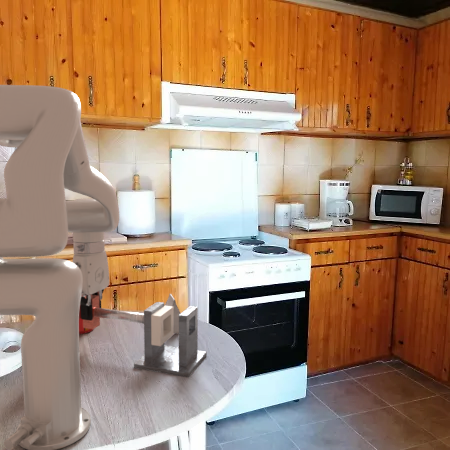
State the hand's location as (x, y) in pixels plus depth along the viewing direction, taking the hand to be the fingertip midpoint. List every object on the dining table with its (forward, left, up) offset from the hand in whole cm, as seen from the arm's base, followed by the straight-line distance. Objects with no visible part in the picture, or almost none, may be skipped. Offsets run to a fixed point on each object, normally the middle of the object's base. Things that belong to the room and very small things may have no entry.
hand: (91, 316), depth 111 cm
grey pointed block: (+19, -14, -9) cm, 25 cm away
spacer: (0, -20, 0) cm, 20 cm away
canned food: (+10, +11, -9) cm, 17 cm away
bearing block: (0, -23, -9) cm, 24 cm away
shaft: (0, -9, -3) cm, 9 cm away
